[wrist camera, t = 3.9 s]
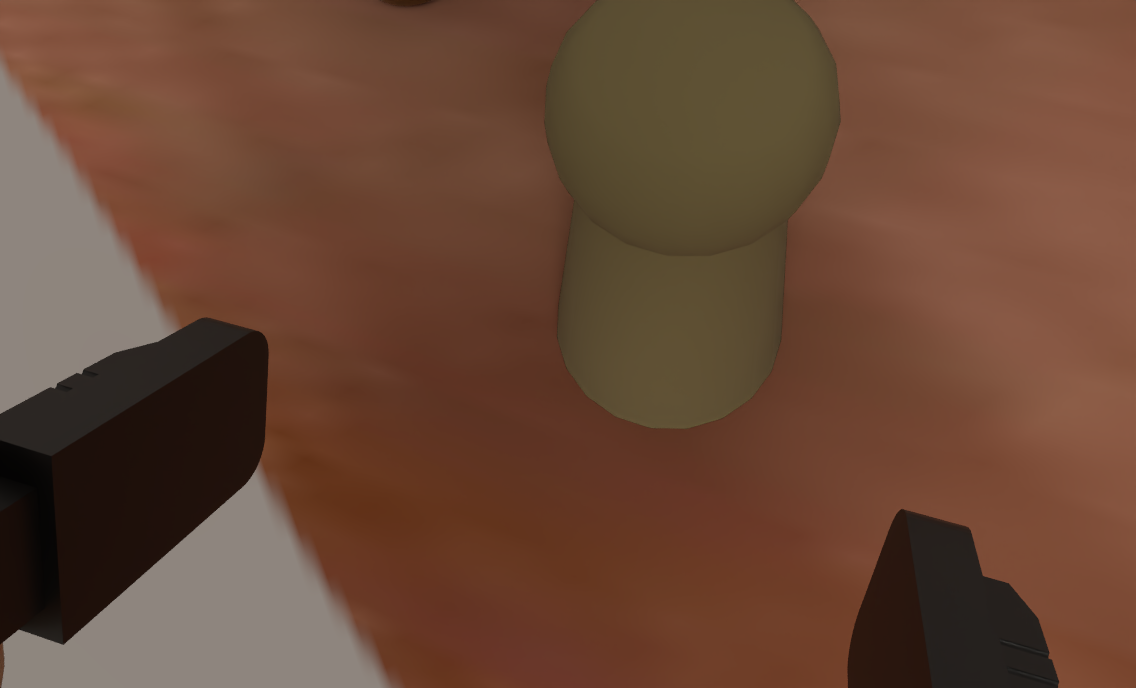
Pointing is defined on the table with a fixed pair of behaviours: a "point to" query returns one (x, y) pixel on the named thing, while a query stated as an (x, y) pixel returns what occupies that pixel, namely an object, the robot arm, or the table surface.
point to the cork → (683, 195)
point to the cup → (405, 2)
